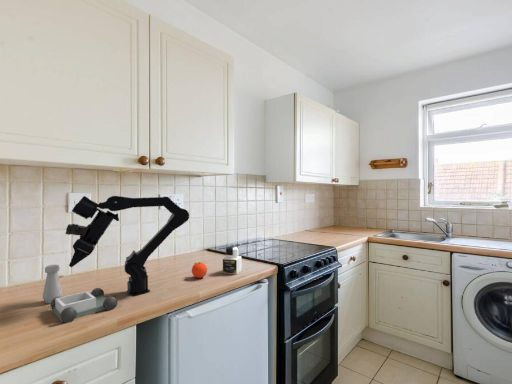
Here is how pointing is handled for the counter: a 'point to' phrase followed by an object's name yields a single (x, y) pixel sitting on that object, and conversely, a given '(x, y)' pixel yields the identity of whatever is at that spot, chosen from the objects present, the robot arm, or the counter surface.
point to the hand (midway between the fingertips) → (72, 263)
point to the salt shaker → (52, 284)
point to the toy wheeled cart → (81, 304)
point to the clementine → (199, 270)
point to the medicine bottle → (232, 261)
